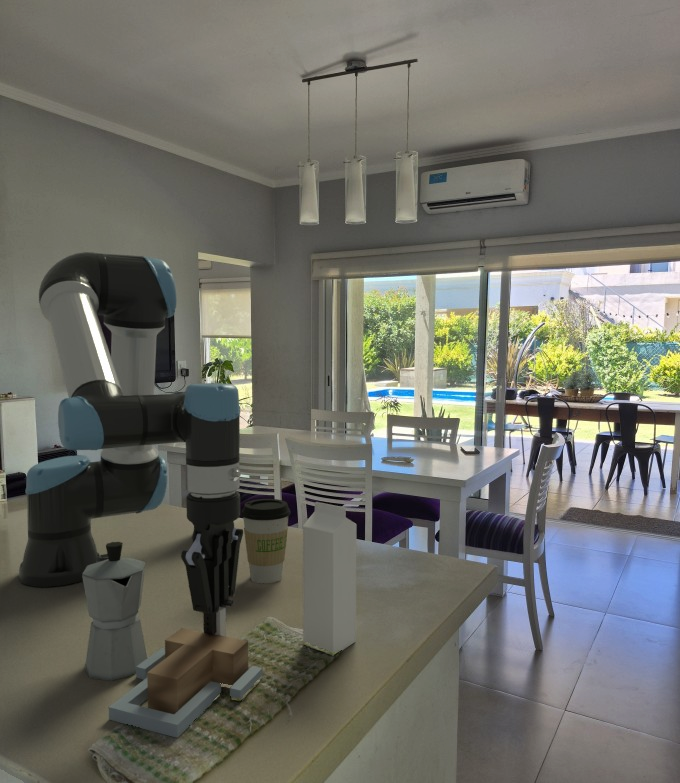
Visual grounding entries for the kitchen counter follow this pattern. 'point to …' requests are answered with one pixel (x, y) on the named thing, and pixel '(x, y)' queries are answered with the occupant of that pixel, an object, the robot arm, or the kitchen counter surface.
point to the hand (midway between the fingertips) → (215, 651)
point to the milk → (329, 578)
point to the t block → (194, 667)
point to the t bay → (177, 723)
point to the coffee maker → (114, 615)
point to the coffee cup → (265, 538)
